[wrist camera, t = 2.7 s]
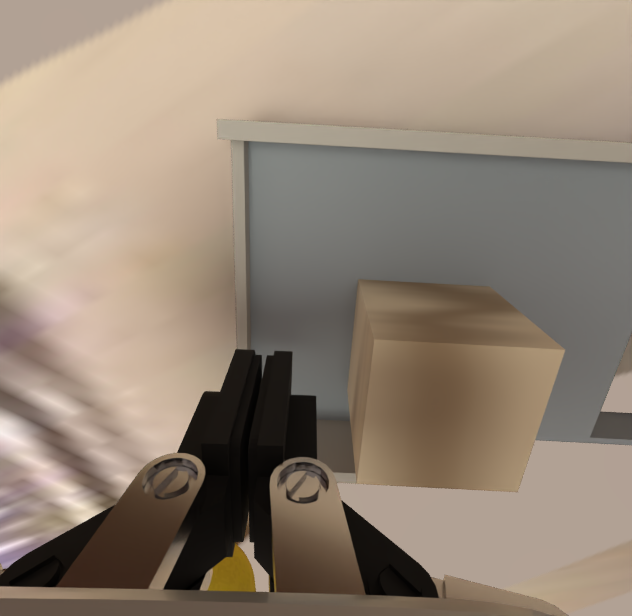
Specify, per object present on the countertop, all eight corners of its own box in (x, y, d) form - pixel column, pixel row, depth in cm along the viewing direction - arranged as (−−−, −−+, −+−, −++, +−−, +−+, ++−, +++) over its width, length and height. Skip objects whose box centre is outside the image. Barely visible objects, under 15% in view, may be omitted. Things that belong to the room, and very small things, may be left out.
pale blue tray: (827, 159, 15) (1057, 165, 10) (692, 421, 19) (807, 507, 15) (246, 126, 15) (212, 117, 10) (250, 397, 19) (228, 476, 15)
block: (489, 286, 15) (565, 349, 10) (463, 396, 17) (517, 492, 12) (357, 279, 15) (374, 339, 10) (347, 390, 17) (356, 483, 12)
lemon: (232, 579, 25) (193, 765, 17) (154, 540, 23) (77, 723, 16) (283, 530, 23) (265, 714, 16) (203, 486, 22) (141, 663, 14)
